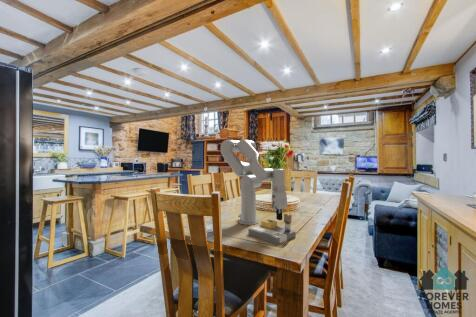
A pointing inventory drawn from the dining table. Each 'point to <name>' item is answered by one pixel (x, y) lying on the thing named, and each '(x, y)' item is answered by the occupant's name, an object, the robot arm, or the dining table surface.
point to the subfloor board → (272, 234)
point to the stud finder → (269, 223)
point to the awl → (287, 222)
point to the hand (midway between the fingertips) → (279, 219)
